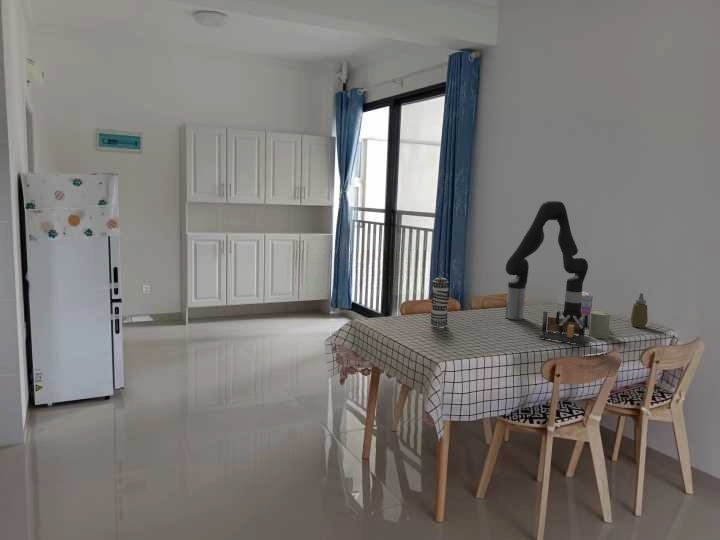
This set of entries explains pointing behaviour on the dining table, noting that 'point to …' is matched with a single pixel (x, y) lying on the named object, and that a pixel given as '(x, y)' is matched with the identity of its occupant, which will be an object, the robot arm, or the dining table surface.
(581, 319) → the candy box
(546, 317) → the frame
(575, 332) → the door
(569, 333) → the fader
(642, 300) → the squeeze bottle
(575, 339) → the console
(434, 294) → the decorative candle
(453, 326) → the dining table surface
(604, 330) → the can
